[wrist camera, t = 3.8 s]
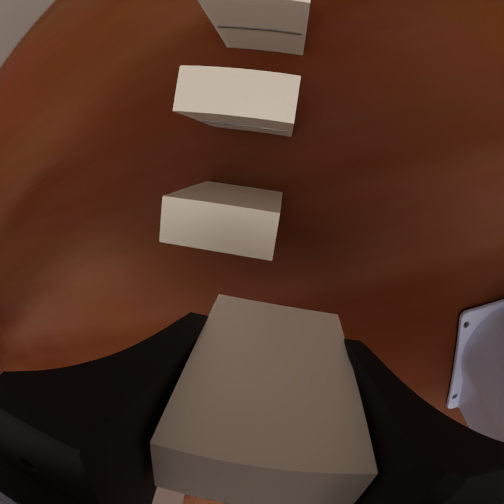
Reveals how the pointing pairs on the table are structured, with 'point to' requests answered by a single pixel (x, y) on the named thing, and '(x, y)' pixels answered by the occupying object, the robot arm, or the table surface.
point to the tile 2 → (238, 98)
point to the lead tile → (265, 411)
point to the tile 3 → (222, 219)
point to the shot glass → (167, 497)
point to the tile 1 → (260, 23)
